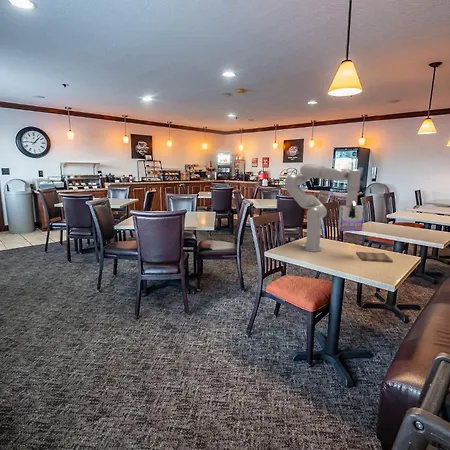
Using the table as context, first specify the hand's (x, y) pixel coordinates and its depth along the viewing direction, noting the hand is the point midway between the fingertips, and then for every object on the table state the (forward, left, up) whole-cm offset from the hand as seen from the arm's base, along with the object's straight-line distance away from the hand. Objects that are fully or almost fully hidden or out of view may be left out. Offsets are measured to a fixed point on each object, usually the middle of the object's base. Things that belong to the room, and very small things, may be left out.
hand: (350, 215), depth 196 cm
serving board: (+17, 0, -28) cm, 32 cm away
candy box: (0, 0, -10) cm, 10 cm away
